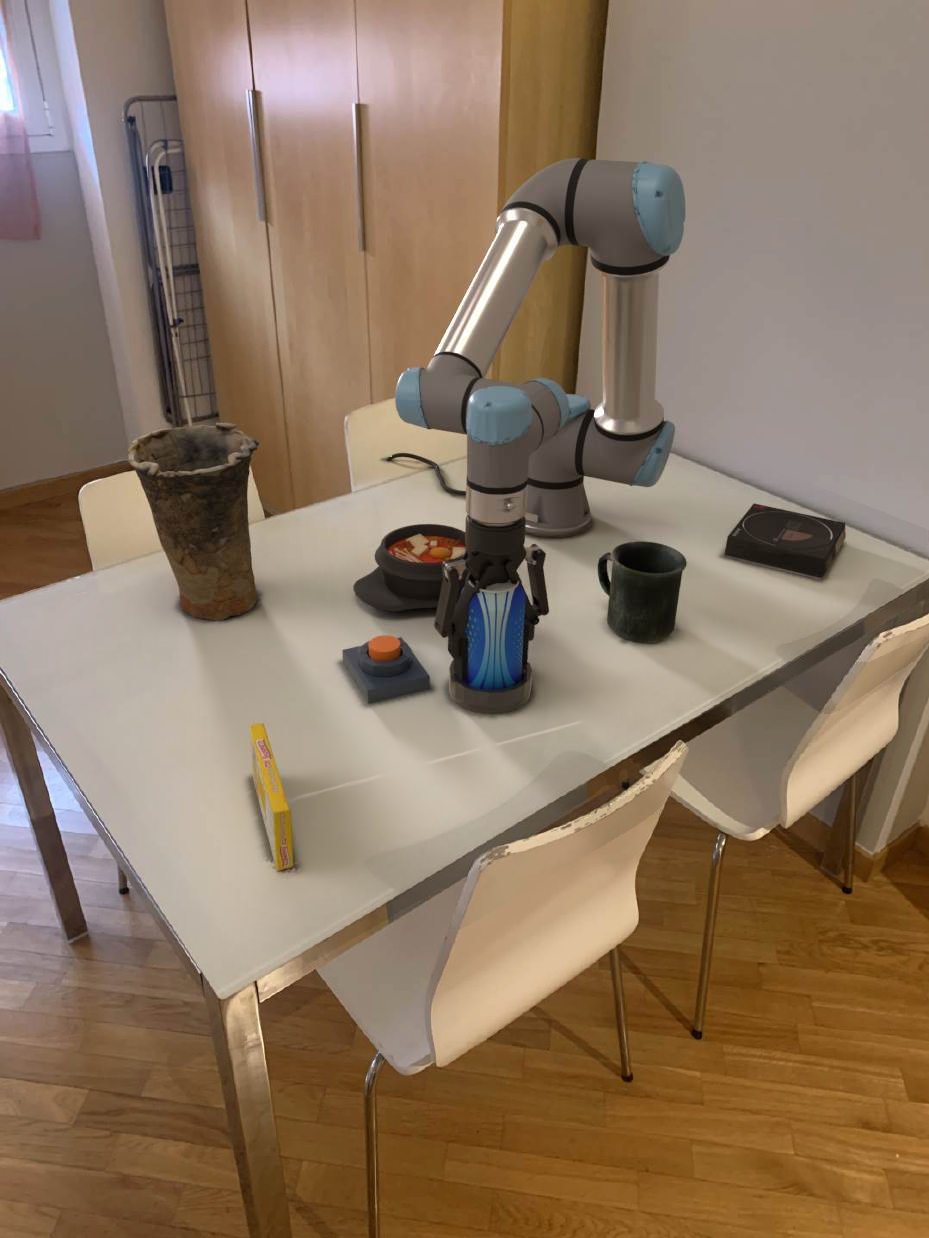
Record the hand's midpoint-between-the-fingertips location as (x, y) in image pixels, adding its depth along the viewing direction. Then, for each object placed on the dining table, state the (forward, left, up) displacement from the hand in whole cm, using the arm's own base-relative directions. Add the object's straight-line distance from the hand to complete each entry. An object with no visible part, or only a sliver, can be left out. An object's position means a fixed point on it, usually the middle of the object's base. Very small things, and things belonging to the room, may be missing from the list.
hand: (490, 667), depth 132 cm
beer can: (0, 0, -3) cm, 3 cm away
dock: (0, 0, -4) cm, 4 cm away
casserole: (-30, +3, -4) cm, 30 cm away
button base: (-9, -12, -4) cm, 15 cm away
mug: (-8, +28, -4) cm, 29 cm away
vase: (-39, -30, -4) cm, 49 cm away
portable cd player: (-19, +67, -4) cm, 70 cm away
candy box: (+14, -34, -4) cm, 37 cm away
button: (-9, -12, 0) cm, 15 cm away
